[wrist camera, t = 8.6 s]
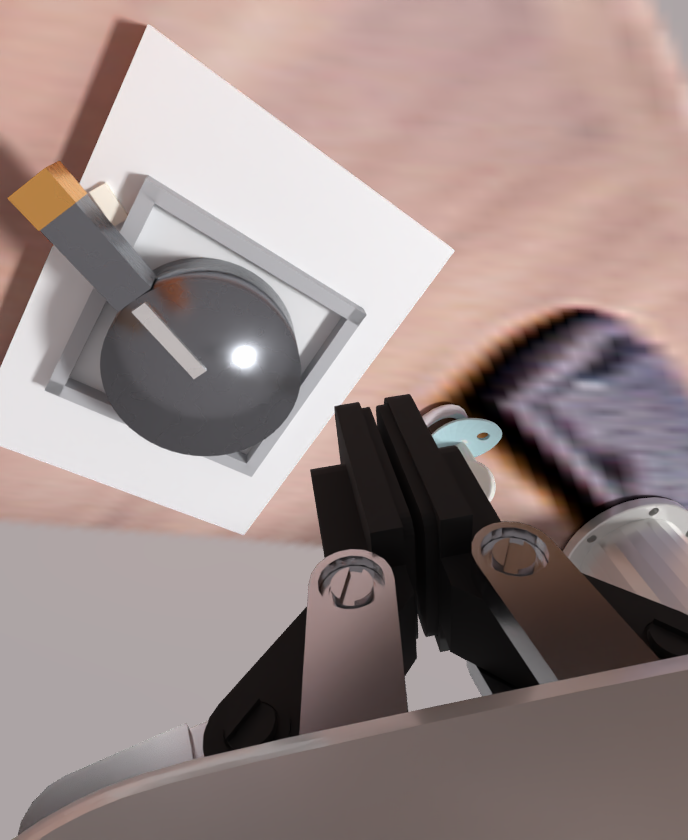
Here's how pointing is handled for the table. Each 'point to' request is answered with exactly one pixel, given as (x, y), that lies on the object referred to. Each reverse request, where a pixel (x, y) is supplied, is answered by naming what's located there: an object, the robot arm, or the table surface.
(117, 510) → the table surface
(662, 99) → the table surface
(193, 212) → the panel
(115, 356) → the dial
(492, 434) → the pacifier
